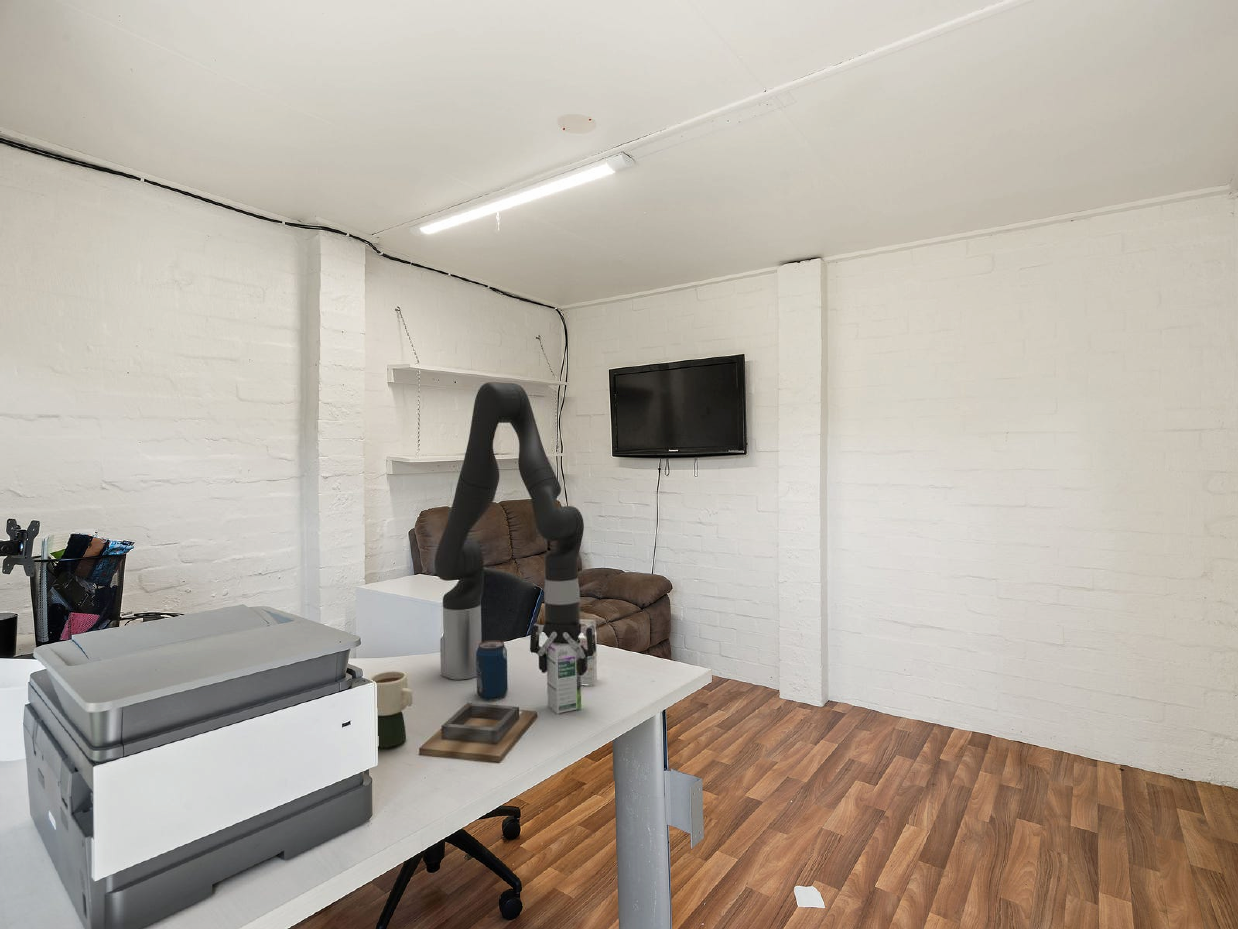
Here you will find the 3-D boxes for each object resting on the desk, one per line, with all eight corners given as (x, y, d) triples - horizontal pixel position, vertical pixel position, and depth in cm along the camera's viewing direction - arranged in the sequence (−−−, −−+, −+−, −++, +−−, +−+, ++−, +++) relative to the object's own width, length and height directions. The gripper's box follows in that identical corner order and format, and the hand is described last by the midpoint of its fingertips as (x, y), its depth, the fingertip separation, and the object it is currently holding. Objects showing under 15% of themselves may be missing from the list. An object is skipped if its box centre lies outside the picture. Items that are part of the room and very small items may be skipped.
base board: (419, 754, 121) (418, 734, 121) (466, 711, 141) (466, 694, 141) (499, 762, 118) (499, 742, 118) (537, 717, 137) (537, 699, 137)
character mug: (424, 739, 127) (423, 673, 127) (400, 756, 121) (398, 686, 120) (379, 731, 131) (377, 667, 131) (353, 747, 125) (351, 679, 124)
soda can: (513, 692, 151) (512, 640, 151) (497, 703, 145) (496, 650, 144) (487, 688, 154) (486, 638, 153) (470, 699, 147) (469, 647, 147)
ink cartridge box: (559, 685, 155) (558, 624, 155) (562, 678, 160) (562, 618, 160) (594, 686, 154) (594, 624, 154) (597, 678, 159) (596, 619, 159)
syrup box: (556, 714, 138) (556, 647, 138) (546, 705, 144) (545, 639, 143) (581, 709, 141) (580, 643, 141) (570, 700, 146) (569, 635, 146)
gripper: (524, 601, 139) (526, 677, 140) (589, 604, 136) (590, 681, 137) (536, 594, 147) (538, 665, 147) (598, 596, 144) (599, 669, 144)
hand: (563, 673), depth 142 cm, fingers open, 8 cm apart
